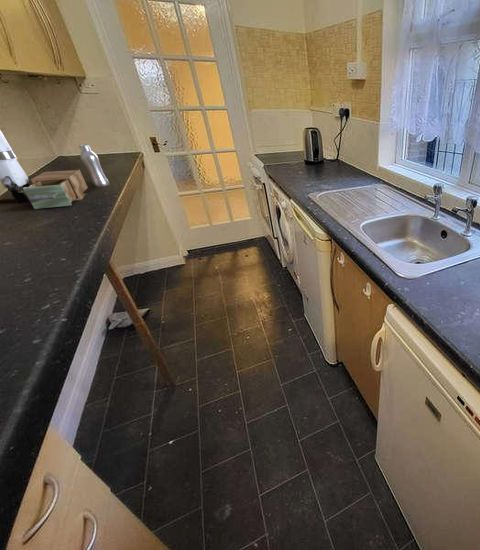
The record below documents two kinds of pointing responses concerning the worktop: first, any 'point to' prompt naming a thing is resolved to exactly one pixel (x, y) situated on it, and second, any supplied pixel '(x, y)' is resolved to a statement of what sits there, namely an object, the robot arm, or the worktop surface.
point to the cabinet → (72, 175)
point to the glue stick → (27, 199)
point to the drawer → (50, 193)
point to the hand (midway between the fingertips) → (28, 199)
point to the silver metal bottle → (93, 166)
